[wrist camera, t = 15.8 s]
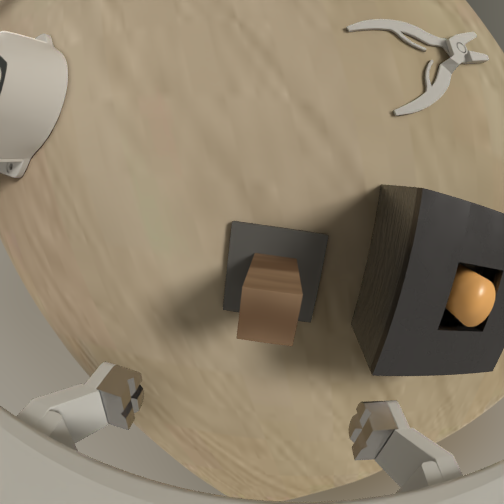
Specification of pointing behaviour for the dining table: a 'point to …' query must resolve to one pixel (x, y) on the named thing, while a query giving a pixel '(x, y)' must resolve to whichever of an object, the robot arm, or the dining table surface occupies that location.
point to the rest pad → (278, 244)
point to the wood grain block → (270, 300)
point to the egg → (470, 297)
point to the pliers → (451, 46)
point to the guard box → (428, 285)
